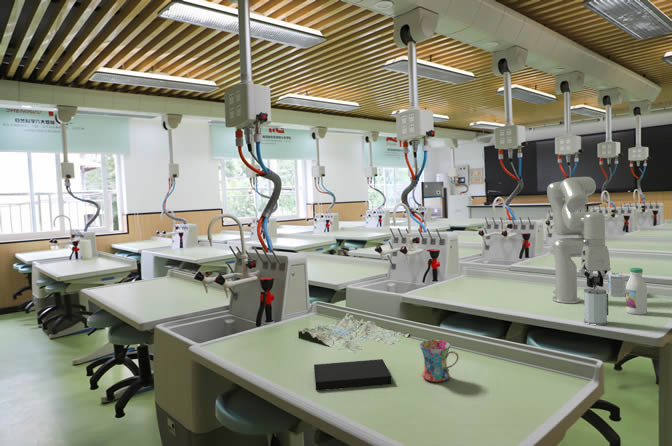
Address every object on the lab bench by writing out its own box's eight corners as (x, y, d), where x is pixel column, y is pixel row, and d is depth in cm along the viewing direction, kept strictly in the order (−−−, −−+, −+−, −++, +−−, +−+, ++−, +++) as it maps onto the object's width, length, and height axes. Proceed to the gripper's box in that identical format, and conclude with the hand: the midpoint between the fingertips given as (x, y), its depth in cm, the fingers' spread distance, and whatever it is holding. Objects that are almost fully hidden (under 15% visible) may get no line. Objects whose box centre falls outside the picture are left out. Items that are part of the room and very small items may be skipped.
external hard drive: (391, 385, 133) (391, 376, 133) (315, 392, 131) (315, 382, 131) (382, 367, 147) (382, 358, 147) (314, 373, 145) (313, 364, 145)
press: (579, 320, 187) (579, 288, 186) (599, 318, 188) (599, 287, 187) (593, 326, 178) (593, 293, 178) (614, 324, 180) (614, 291, 179)
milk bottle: (643, 310, 196) (643, 266, 195) (649, 315, 189) (649, 269, 188) (623, 310, 199) (623, 266, 198) (629, 314, 192) (628, 269, 191)
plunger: (584, 311, 185) (584, 275, 184) (596, 310, 186) (596, 275, 185) (594, 315, 180) (593, 278, 179) (606, 314, 180) (606, 277, 179)
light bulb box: (607, 292, 234) (607, 272, 234) (622, 292, 231) (622, 272, 231) (610, 296, 225) (610, 275, 224) (625, 297, 222) (625, 276, 221)
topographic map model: (410, 337, 178) (410, 325, 177) (363, 358, 157) (362, 345, 156) (346, 322, 203) (346, 312, 202) (298, 339, 182) (297, 327, 181)
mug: (416, 380, 135) (414, 347, 134) (427, 370, 143) (426, 338, 142) (454, 388, 128) (453, 353, 128) (463, 376, 136) (462, 343, 135)
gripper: (582, 245, 176) (582, 290, 177) (619, 242, 178) (620, 287, 179) (570, 243, 184) (570, 286, 185) (606, 240, 186) (606, 283, 187)
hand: (595, 286), depth 182 cm, fingers closed on plunger, 3 cm apart
